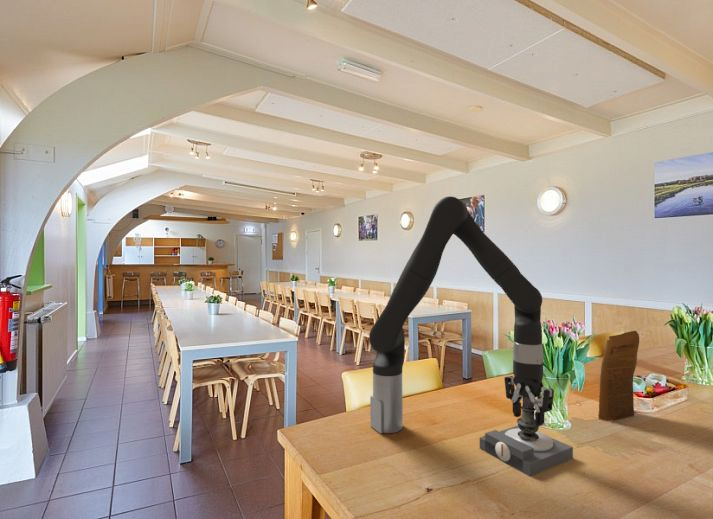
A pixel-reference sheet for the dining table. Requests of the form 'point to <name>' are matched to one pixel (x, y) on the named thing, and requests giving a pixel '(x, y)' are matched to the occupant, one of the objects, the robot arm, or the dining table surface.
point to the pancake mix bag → (618, 376)
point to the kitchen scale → (525, 450)
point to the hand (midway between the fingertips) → (528, 420)
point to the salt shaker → (527, 421)
